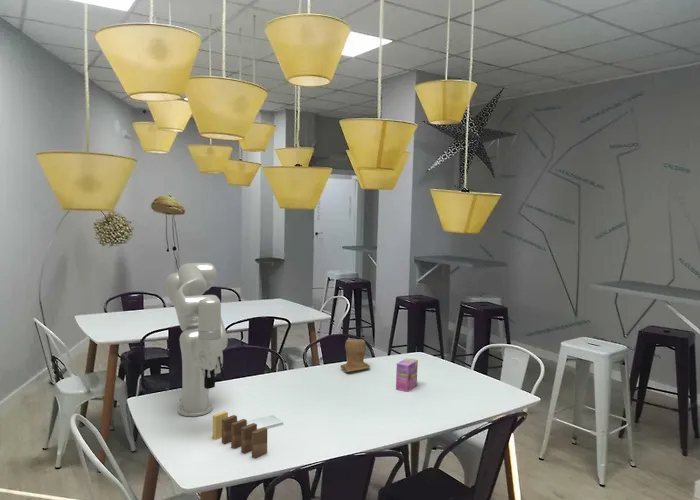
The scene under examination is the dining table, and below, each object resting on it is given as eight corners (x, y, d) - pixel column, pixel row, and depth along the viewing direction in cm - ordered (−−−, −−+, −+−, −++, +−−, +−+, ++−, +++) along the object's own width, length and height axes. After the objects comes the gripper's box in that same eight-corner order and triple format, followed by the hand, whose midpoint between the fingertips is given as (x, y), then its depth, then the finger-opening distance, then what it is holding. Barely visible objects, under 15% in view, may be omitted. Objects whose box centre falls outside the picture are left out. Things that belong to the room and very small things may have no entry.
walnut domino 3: (241, 452, 162) (241, 427, 162) (253, 446, 166) (253, 422, 165) (244, 453, 161) (244, 429, 161) (256, 448, 165) (256, 424, 164)
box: (407, 392, 220) (408, 365, 220) (395, 389, 223) (396, 363, 223) (417, 385, 229) (418, 359, 228) (405, 383, 232) (406, 357, 231)
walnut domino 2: (231, 447, 165) (231, 423, 165) (243, 442, 169) (243, 418, 169) (234, 449, 164) (234, 424, 164) (246, 443, 168) (246, 420, 168)
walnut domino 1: (221, 443, 168) (221, 419, 168) (233, 438, 172) (234, 414, 172) (224, 444, 167) (224, 420, 167) (236, 439, 171) (237, 416, 171)
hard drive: (272, 414, 190) (241, 421, 183) (283, 421, 184) (251, 429, 177) (272, 418, 190) (241, 426, 183) (283, 426, 184) (251, 434, 177)
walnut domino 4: (251, 457, 159) (251, 432, 158) (263, 451, 163) (264, 427, 162) (254, 458, 158) (255, 433, 157) (267, 453, 162) (267, 428, 161)
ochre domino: (227, 435, 174) (227, 412, 174) (215, 439, 171) (215, 416, 170) (224, 433, 175) (224, 411, 175) (212, 438, 172) (212, 415, 171)
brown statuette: (358, 364, 261) (359, 335, 260) (373, 370, 251) (373, 340, 250) (334, 368, 252) (334, 338, 251) (348, 375, 242) (348, 344, 241)
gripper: (187, 333, 176) (187, 385, 177) (213, 340, 167) (213, 395, 168) (205, 329, 182) (205, 380, 183) (232, 336, 173) (232, 389, 174)
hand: (209, 387), depth 175 cm, fingers closed
